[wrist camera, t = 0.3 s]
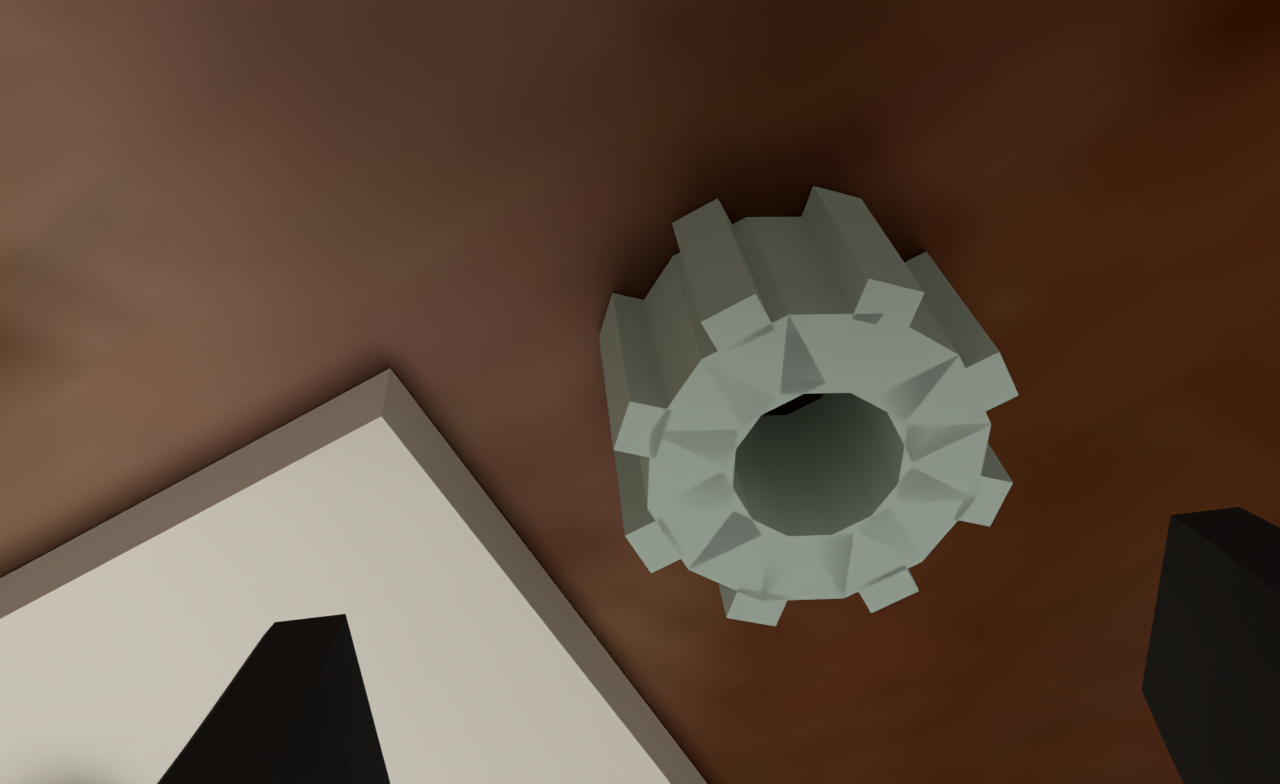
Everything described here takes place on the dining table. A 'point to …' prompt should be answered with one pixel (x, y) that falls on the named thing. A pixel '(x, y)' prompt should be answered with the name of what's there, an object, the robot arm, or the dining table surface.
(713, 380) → the sage gear
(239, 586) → the gear board
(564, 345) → the dining table surface
